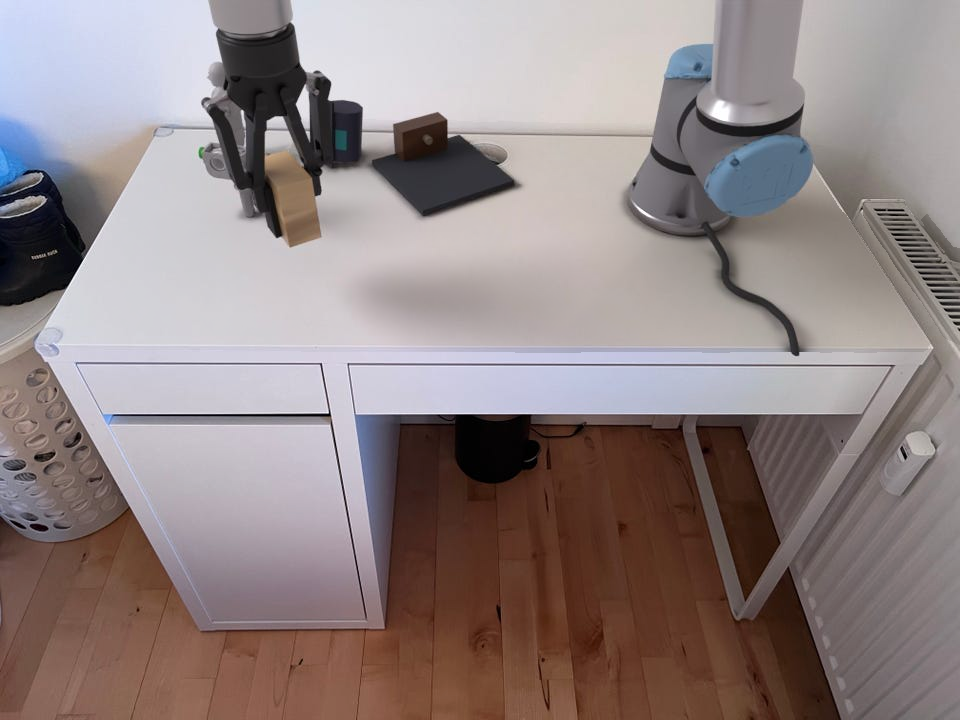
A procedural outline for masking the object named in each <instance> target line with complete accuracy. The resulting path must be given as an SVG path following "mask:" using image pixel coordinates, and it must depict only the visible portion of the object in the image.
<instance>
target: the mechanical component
mask: <svg viewBox="0 0 960 720" xmlns="http://www.w3.org/2000/svg"><path fill="white" fill-rule="evenodd" d="M237 148H238V151H239V155H240V158H241V162H242V165H243V169H244V172H246V146H245V145H244V146H238V145H237ZM267 155H271V154H270V153H266V152H265V156H267ZM198 158H199V159H201V160H202V162H203V164H204V166H205V170H206V172H207V173H208V174H209V176H211V177H213V178H215V179H222V180H228V181H232V180H231V179H230V177H229V174H228V170H227V167H226V164H225V160H224V157H223V154H222V150H221V147H220V144H219V142H213V141H210V142H208V144H206V146H200V147H199V148H198ZM233 189H235V190H236V191H238V193H239V198H240V202H241V207H242V211H243V215H244V216H245V218H252V217H253V216H254V213H256V209H255V208H256V207H255V205H254V203H253V199H252V195H251V190H250V189H249V188H246V189H245V190H239V189H238V188H237V187H236V185H235V184H234V183H233Z"/></svg>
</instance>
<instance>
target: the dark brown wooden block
mask: <svg viewBox="0 0 960 720" xmlns="http://www.w3.org/2000/svg"><path fill="white" fill-rule="evenodd" d="M448 123H449V122H448V118H447V117H445V116H444V115H442V114H441V112H439V111H436V112H433V113H429V114H425V115H421V116H418V117H414V118H410V119H407V120H403V121H399V122H396V123H393V124H392V129H393V144H394V145H393V146H394V154H396V155H397V156H398V157H399V158H400V159H401V160H402V161H404V162H405V161H408V160H411V159H415V158H418V157H421V156H425V155H428V154H431V153H435V152H438V151H442V150H445V149H448V138H449V136H448V135H449V133H448V132H449V129H448V128H449V124H448Z"/></svg>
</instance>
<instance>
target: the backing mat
mask: <svg viewBox="0 0 960 720" xmlns="http://www.w3.org/2000/svg"><path fill="white" fill-rule="evenodd" d="M371 165H372V167H373V168H374V170H376V172H378V173H379V174H380V175H381V176H382V177H383V178H384V179H385V180H386V181H387V182H388V183H389V184H390V185H391V186H392V187H393V188H394V189H395V190H396V191H397V192H398V193H399V194H400V195H401V196H402V197H403V198H404V199H405V200H406V201H407V202H408V203H409V204H410V206H412V207H413V208H414V209H415V210H416V211H417V212H418V213H419V214H420V215H421V216H422V217H424V216H428V215H430V214H433V213H437V212H439V211H442V210H445V209H449V208H452V207H455V206H457V205H461V204H464V203H467V202H469V201H473V200H476V199H479V198H481V197H485V196H488V195H490V194H494V193H497V192H499V191H502V190H506V189H510V188H511V187H514V186H515V179H514V178H512V176H511V175H509V174H508V173H506V172H505V170H503V169H502V168H501V167H499V166H498V165H497V164H496V163H495V162H494V161H492V160H491V159H489V158H488V157H487V156H486V155H485V154H484V153H482V152H481V151H480V150H479V149H477V148H476V147H475V146H474V145H473V144H472V143H470V142H469V141H468V140H467V139H465V138H464V137H463V136H462V135H460V134H456V135H453V136H450V137H448V149H445V150H442V151H438V152H435V153H431V154H428V155H425V156H421V157H418V158H415V159H411V160H408V161H405V162H404V161H402V160H401V159H400V158H399V157H398V156H397V155H396V154H395V153H392V154H388V155H385V156H382V157H377V158H374V159H372V160H371Z"/></svg>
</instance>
